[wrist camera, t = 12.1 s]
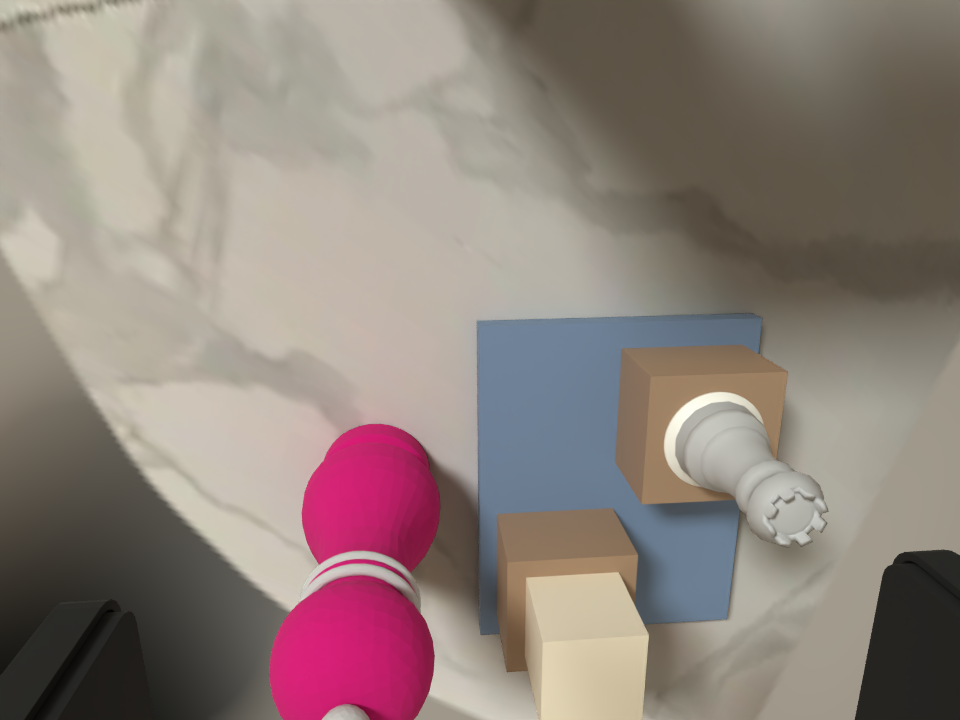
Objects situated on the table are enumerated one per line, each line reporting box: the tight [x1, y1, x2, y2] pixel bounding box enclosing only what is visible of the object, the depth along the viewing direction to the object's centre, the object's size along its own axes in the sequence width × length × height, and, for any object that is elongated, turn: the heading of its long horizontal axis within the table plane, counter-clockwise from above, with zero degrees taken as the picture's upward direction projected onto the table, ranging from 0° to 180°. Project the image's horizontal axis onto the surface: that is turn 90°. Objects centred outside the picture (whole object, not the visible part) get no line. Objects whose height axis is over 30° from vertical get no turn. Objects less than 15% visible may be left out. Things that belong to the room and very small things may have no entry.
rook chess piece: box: [675, 401, 829, 548], centre depth 31 cm, size 4×4×8 cm
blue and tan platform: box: [477, 313, 788, 720], centre depth 37 cm, size 20×16×11 cm
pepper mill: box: [269, 424, 440, 720], centre depth 31 cm, size 7×7×20 cm
